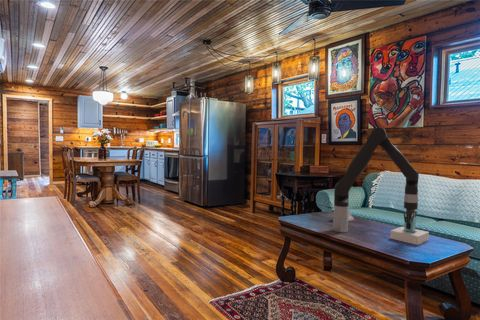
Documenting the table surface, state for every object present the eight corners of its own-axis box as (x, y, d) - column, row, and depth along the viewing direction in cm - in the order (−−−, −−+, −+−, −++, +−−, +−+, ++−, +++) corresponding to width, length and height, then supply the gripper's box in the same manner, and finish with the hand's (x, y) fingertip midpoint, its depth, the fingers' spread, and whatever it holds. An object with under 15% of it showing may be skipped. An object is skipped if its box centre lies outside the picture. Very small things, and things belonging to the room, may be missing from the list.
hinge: (341, 222, 233) (337, 209, 236) (336, 223, 237) (332, 210, 239) (354, 219, 243) (350, 206, 246) (349, 220, 247) (345, 207, 249)
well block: (417, 244, 183) (418, 236, 182) (390, 238, 195) (390, 230, 195) (428, 239, 193) (428, 231, 193) (401, 233, 205) (402, 226, 205)
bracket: (412, 235, 191) (413, 218, 190) (404, 233, 194) (404, 216, 194) (415, 234, 193) (415, 217, 193) (406, 232, 197) (407, 215, 196)
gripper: (409, 199, 200) (408, 225, 201) (399, 201, 191) (398, 229, 192) (422, 200, 194) (420, 227, 195) (412, 203, 185) (411, 231, 186)
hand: (409, 228), depth 194 cm, fingers closed on bracket, 4 cm apart
